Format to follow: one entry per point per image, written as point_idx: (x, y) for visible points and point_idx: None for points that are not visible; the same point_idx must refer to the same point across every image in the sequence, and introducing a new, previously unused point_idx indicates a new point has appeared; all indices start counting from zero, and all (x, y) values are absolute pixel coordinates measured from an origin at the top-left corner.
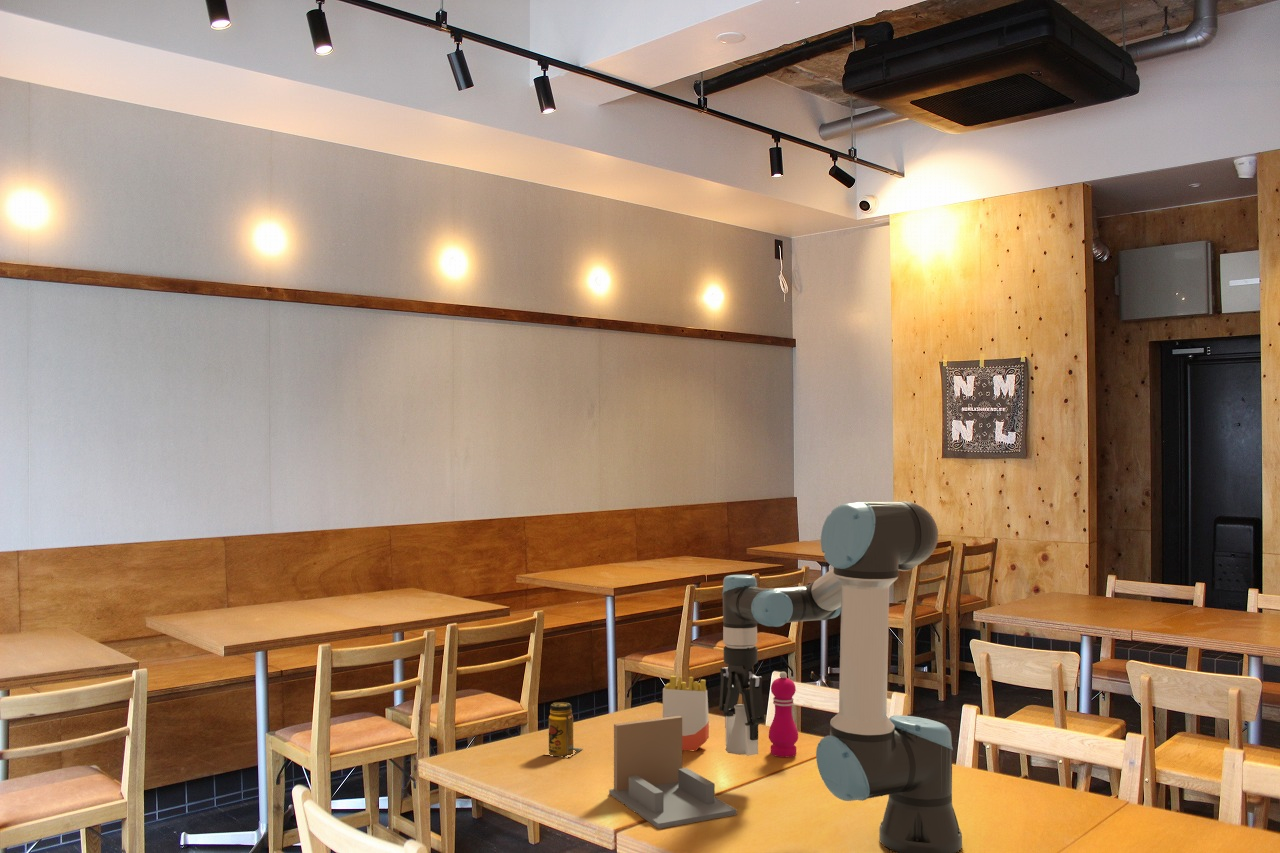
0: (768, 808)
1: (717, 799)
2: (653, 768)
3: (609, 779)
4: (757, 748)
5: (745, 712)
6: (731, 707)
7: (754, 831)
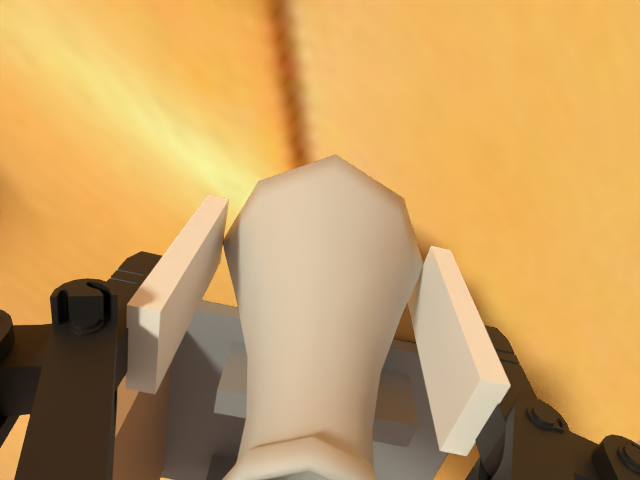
0: (541, 261)
1: (393, 353)
2: (150, 442)
3: None
4: (456, 270)
5: (372, 463)
6: (113, 430)
7: (604, 401)
